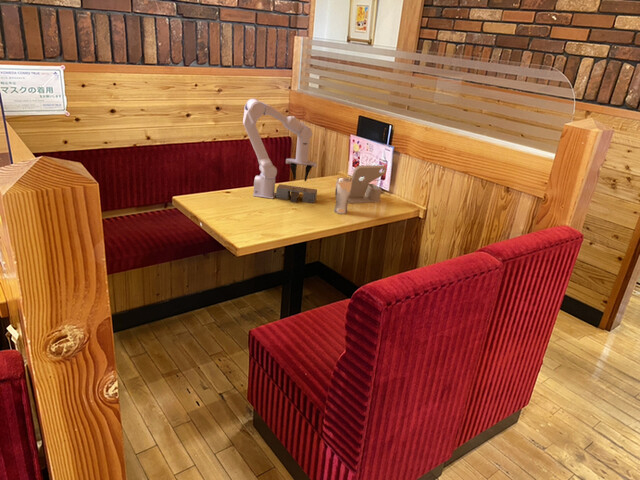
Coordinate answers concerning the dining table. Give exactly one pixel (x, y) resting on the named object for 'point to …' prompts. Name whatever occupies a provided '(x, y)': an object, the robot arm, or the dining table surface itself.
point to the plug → (294, 196)
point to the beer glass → (342, 194)
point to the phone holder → (366, 184)
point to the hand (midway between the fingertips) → (300, 179)
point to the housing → (285, 190)
